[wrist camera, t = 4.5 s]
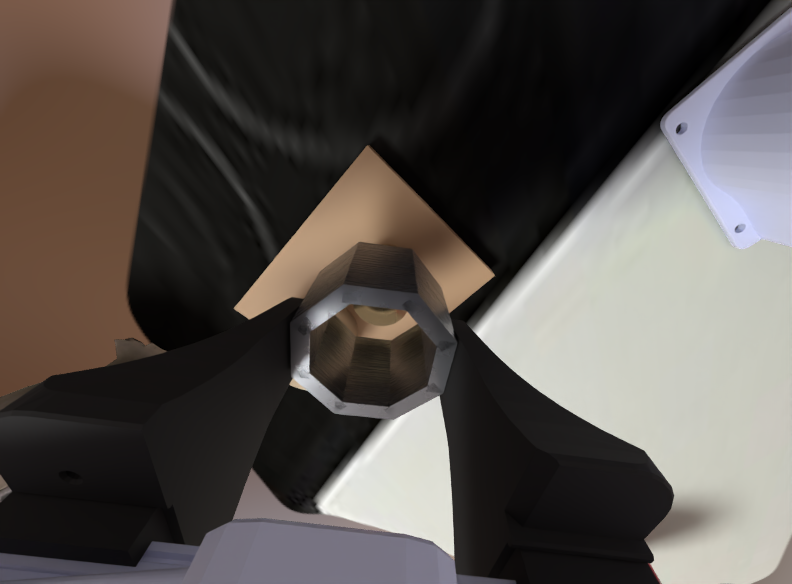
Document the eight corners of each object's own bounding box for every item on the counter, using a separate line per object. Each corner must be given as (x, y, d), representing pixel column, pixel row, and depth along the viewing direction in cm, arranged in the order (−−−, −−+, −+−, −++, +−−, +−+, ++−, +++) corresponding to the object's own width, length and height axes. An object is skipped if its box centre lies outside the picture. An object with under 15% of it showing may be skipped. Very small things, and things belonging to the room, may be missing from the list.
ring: (448, 253, 12) (469, 300, 9) (425, 354, 15) (434, 423, 11) (320, 236, 12) (288, 277, 9) (317, 342, 14) (291, 409, 11)
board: (490, 269, 19) (510, 299, 15) (355, 382, 23) (346, 426, 20) (369, 145, 16) (358, 146, 12) (241, 301, 20) (206, 335, 17)
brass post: (418, 265, 18) (421, 301, 14) (387, 293, 19) (382, 335, 15) (385, 234, 17) (378, 263, 13) (355, 265, 18) (340, 302, 14)
